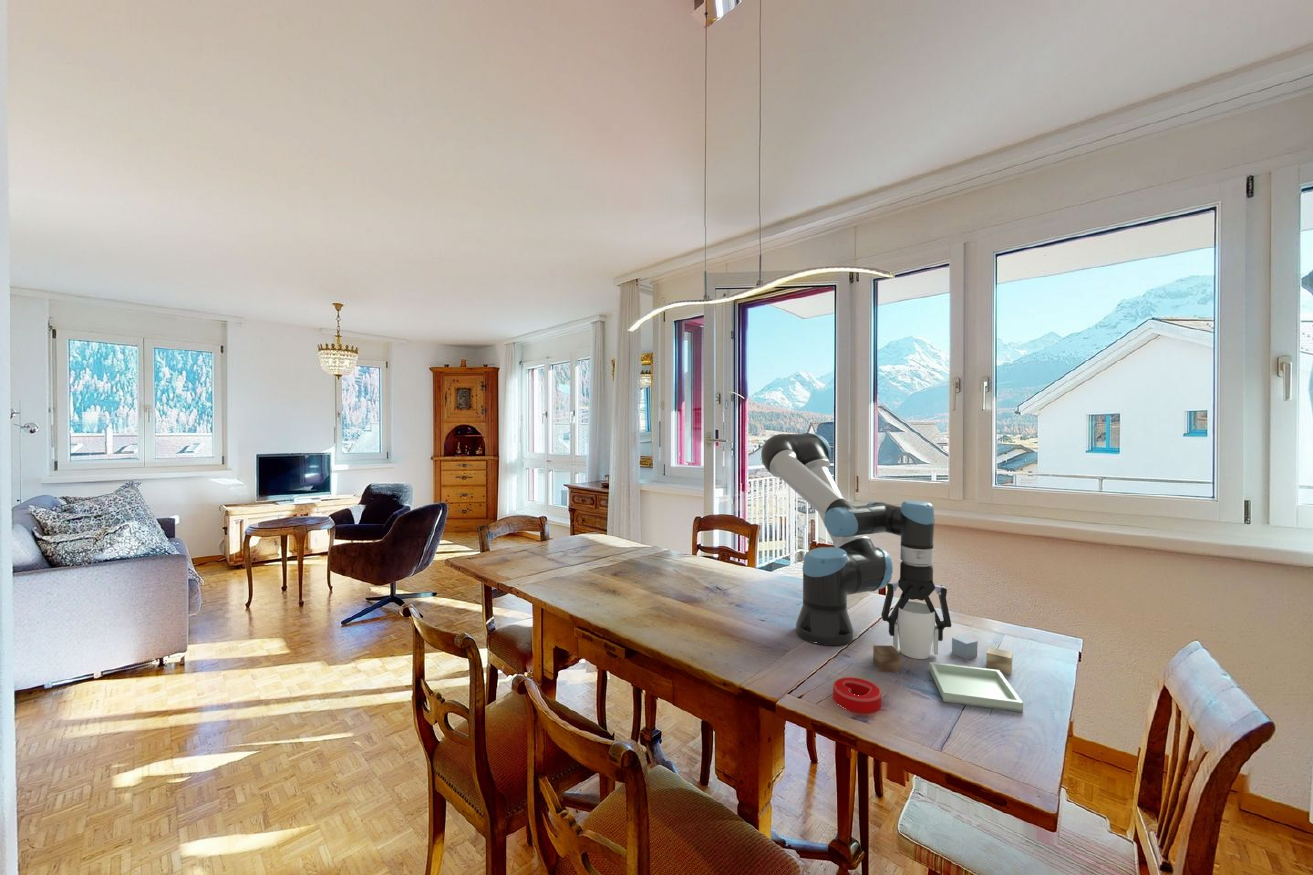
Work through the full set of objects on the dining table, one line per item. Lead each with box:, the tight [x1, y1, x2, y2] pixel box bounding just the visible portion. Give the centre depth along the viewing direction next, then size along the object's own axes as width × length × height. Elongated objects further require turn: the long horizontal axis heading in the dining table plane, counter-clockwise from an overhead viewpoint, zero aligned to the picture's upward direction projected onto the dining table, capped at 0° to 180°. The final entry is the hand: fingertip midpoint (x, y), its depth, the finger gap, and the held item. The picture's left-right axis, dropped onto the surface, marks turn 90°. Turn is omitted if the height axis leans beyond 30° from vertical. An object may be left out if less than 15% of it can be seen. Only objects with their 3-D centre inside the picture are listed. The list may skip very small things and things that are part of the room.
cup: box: [896, 600, 936, 660], centre depth 136 cm, size 9×9×12 cm
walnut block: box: [872, 644, 901, 673], centre depth 129 cm, size 4×4×4 cm
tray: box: [928, 661, 1024, 713], centre depth 118 cm, size 15×15×2 cm
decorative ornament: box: [832, 676, 882, 715], centre depth 114 cm, size 10×10×3 cm
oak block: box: [985, 646, 1014, 675], centre depth 128 cm, size 5×4×4 cm
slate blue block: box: [951, 634, 979, 660], centre depth 136 cm, size 4×4×4 cm
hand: (914, 650), depth 136 cm, fingers closed on cup, 9 cm apart
